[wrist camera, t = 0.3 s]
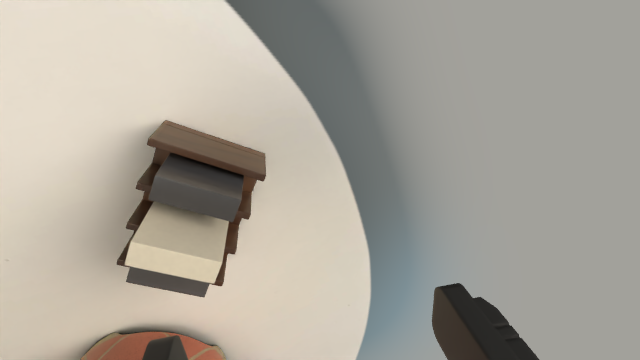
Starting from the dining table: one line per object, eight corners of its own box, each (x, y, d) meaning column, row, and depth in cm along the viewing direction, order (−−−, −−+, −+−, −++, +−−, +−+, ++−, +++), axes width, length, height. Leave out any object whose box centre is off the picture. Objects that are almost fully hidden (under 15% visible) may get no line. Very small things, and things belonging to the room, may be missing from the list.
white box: (166, 179, 30) (130, 241, 22) (232, 198, 32) (222, 262, 24) (161, 198, 31) (124, 265, 22) (225, 216, 33) (214, 284, 24)
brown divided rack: (165, 119, 29) (134, 152, 22) (265, 153, 32) (266, 192, 25) (135, 232, 33) (101, 290, 26) (226, 253, 36) (218, 311, 29)
